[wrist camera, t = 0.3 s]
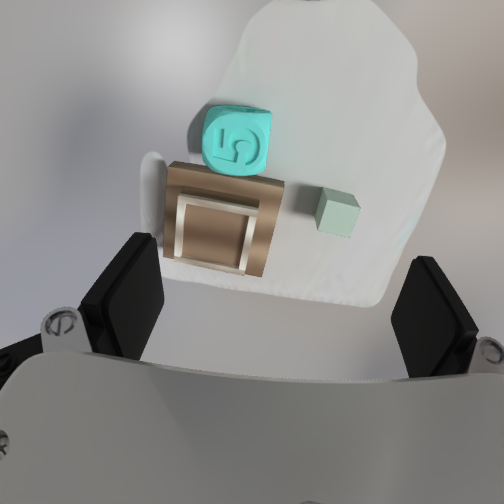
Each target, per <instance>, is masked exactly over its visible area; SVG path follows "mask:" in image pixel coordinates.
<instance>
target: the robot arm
mask: <svg viewBox="0 0 504 504" xmlns="http://www.w3.org/2000/svg"><path fill="white" fill-rule="evenodd" d="M309 1H317V0H309ZM163 305H164V291H163V285H162V279H161V272H160V264H159V257H158V249H157V242H156V238H154V237H152V236H151V234H150V233H140V232H135V233H134V234H133V235H132V236H131V237H130V238H129V240H128V241H127V242H126V243H125V245H124V246H123V247H122V248H121V250H120V251H119V252H118V253H117V255H116V256H115V257H114V258H113V260H112V261H111V262H110V263H109V265H108V266H107V267H106V269H105V270H104V271H103V272H102V274H101V275H100V276H99V278H98V279H97V280H96V282H95V283H94V285H93V286H92V287H91V288H90V290H89V291H88V293H87V294H86V296H85V297H84V298H83V300H82V301H81V305H80V306H79V307H78V309H77V310H76V309H75V308H72V307H62V308H58V309H55V310H53V311H52V312H50V313H49V314H47V315H46V317H45V318H44V319H43V321H42V323H41V329H40V330H41V333H40V334H37V335H35V336H32V337H30V338H27V339H25V340H22V341H20V342H17V343H15V344H12V345H10V346H7V347H5V348H3V349H0V504H504V347H503V345H502V344H500V342H498V341H497V340H495V339H493V338H491V337H481V338H480V339H478V340H477V338H476V335H477V333H478V332H479V330H478V328H477V326H476V324H475V322H474V321H473V319H472V317H471V316H470V314H469V312H468V310H467V309H466V307H465V306H464V304H463V302H462V301H461V299H460V297H459V296H458V294H457V292H456V291H455V289H454V288H453V286H452V285H451V283H450V282H449V280H448V279H447V277H446V276H445V274H444V273H443V271H442V270H441V268H440V267H439V265H438V264H437V262H436V261H435V259H434V258H433V257H429V256H418V257H417V258H416V259H413V261H412V263H411V265H410V268H409V271H408V274H407V276H406V279H405V282H404V284H403V287H402V290H401V292H400V295H399V297H398V300H397V302H396V305H395V307H394V310H393V312H392V316H391V323H392V326H393V329H394V332H395V335H396V338H397V341H398V344H399V346H400V349H401V353H402V355H403V359H404V362H405V365H406V368H407V372H408V375H409V378H406V379H386V380H306V379H285V378H270V377H257V376H245V375H235V374H225V373H217V372H208V371H201V370H193V369H187V368H180V367H173V366H167V365H160V364H155V363H148V362H143V361H139V360H140V357H141V355H142V353H143V351H144V348H145V346H146V344H147V341H148V339H149V337H150V334H151V332H152V330H153V327H154V325H155V323H156V321H157V318H158V316H159V314H160V312H161V309H162V307H163Z"/></svg>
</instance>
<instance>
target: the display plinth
mask: <svg viewBox="0 0 504 504" xmlns="http://www.w3.org/2000/svg"><path fill="white" fill-rule="evenodd" d="M283 192H284V181H280V180H275V179H271V178H266V177H261V176H256V175H248V176H236V175H227V174H222V173H218V172H215V171H213V170H211V169H210V168H209V167H208V166H203V165H197V164H191V163H184V162H177V161H174V162H173V163H171V164H170V165H169V166H168V172H167V185H166V200H165V218H164V242H163V257H166V258H170V259H174V261H175V262H180V263H185V264H189V265H194V266H199V267H204V268H208V269H213V270H218V271H223V272H228V273H233V274H237V275H242V276H244V274H247V275H252V276H257V277H262V274H263V270H264V267H265V263H266V259H267V255H268V251H269V247H270V243H271V239H272V235H273V232H274V228H275V224H276V220H277V216H278V212H279V208H280V204H281V200H282V196H283Z"/></svg>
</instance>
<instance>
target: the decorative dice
mask: <svg viewBox="0 0 504 504" xmlns="http://www.w3.org/2000/svg"><path fill="white" fill-rule="evenodd" d="M271 121H272V113H271V112H270V111H268V110H264V109H259V108H253V107H244V106H213V107H211V108H210V109H209V110H208V112H207V115H206V118H205V122H204V126H203V133H202V158H203V162H204V163H205V164H206V165H207V166H208V167H209V168H210V169H211V170H213V171H215V172H218V173H222V174H227V175H236V176H248V175H256V174H259V173H261V172H263V171H264V170H265V168H266V161H267V153H268V146H269V137H270V129H271Z"/></svg>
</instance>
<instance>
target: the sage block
mask: <svg viewBox="0 0 504 504" xmlns="http://www.w3.org/2000/svg"><path fill="white" fill-rule="evenodd" d="M360 209H361V208H360V206H359V204H358V202H357V201H356V199H355V197H354V195H351V194H347V193H344V192H340V191H336V190H332V189H328V188H324V187H323V190H322V193H321V196H320V200H319V203H318V206H317V210H316V213H315V221H316V225H317V230H318V231H321V232H325V233H329V234H334V235H338V236H343V237H347V238H350V235H351V233H352V230H353V228H354V225H355V222H356V220H357V217H358V214H359V211H360Z"/></svg>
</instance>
